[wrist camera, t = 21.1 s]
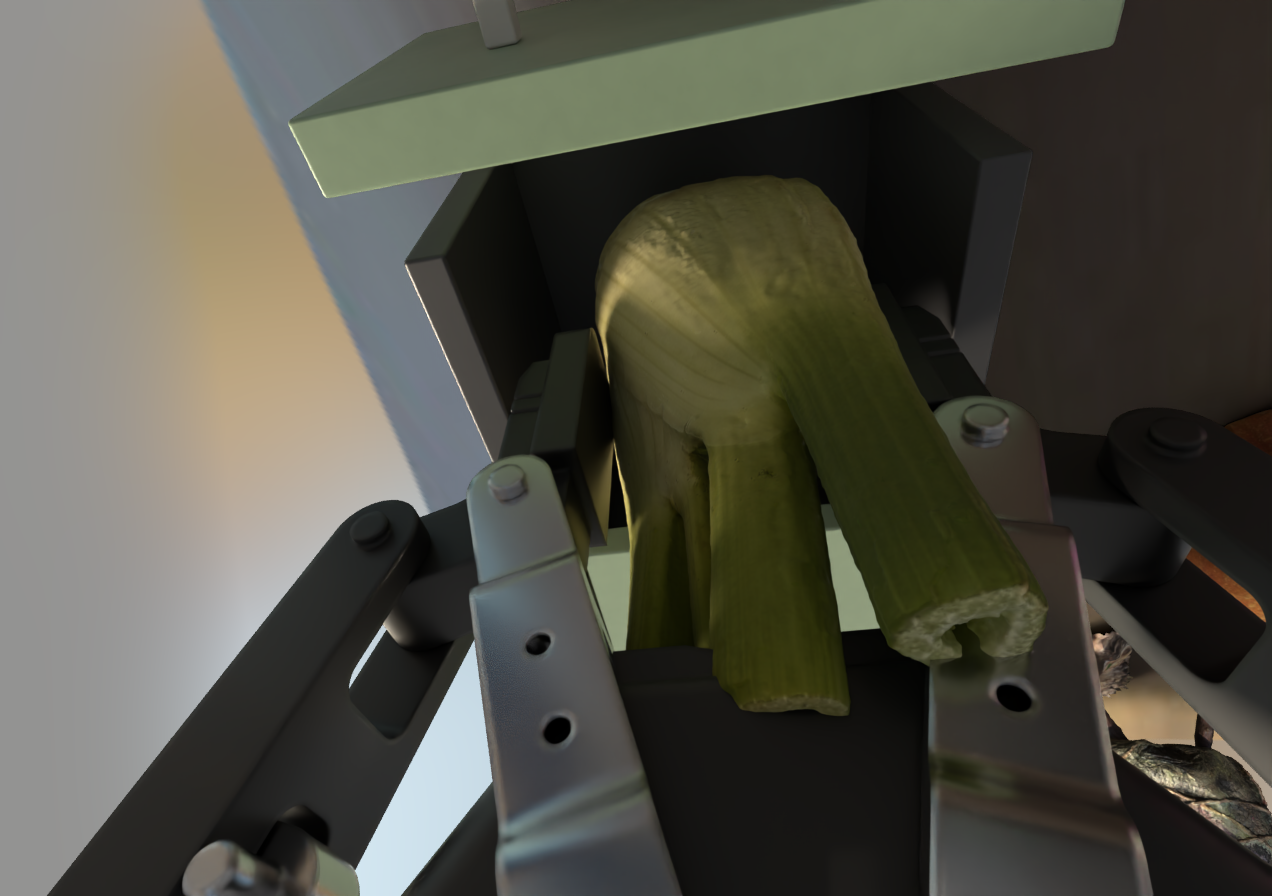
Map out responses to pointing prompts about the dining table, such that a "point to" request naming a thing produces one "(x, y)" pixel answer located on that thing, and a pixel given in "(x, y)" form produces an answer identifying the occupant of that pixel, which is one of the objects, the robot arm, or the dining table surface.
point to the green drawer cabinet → (614, 581)
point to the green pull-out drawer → (688, 151)
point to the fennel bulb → (784, 451)
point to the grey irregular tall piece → (1189, 763)
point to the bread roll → (1268, 435)
